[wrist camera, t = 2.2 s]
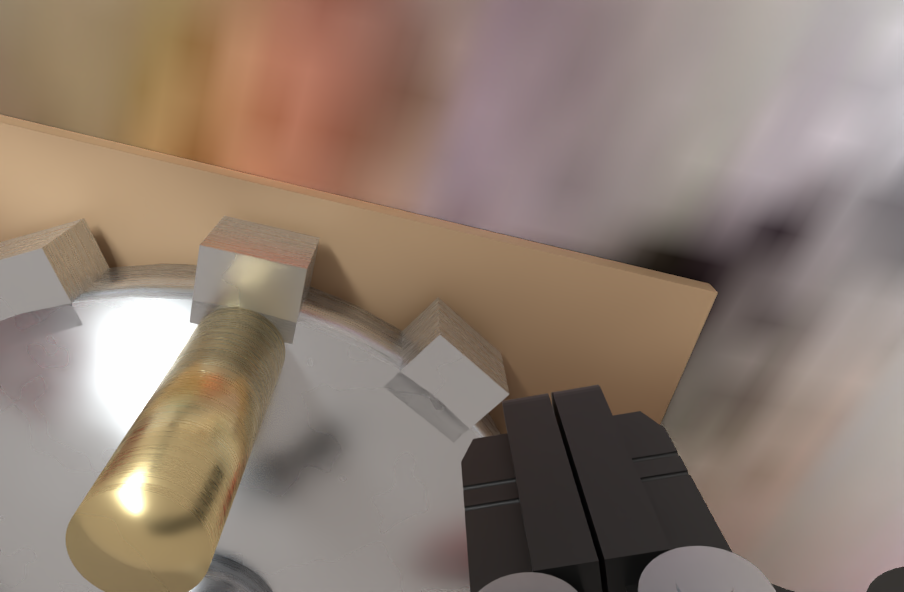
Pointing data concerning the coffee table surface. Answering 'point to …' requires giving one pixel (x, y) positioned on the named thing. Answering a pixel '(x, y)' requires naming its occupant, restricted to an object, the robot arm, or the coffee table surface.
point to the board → (376, 262)
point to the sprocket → (228, 424)
